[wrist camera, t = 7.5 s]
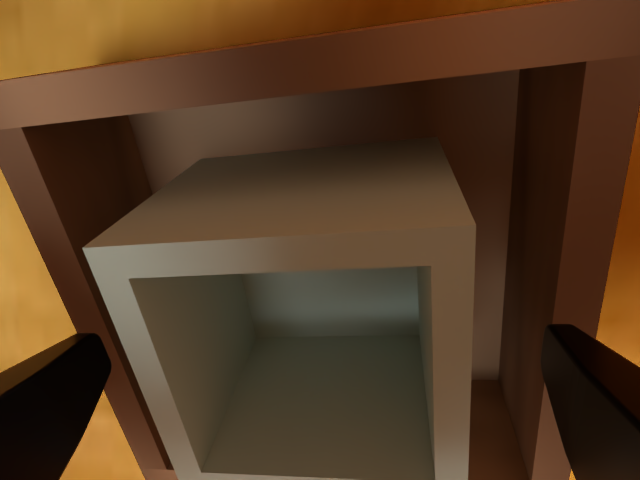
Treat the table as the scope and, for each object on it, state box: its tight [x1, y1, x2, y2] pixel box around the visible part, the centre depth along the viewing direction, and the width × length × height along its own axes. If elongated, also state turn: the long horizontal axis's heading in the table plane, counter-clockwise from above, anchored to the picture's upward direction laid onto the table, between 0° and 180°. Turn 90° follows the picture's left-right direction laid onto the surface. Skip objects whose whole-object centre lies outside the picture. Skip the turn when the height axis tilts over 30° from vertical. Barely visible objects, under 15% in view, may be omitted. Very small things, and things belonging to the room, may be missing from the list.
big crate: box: [0, 0, 640, 480], centre depth 11 cm, size 11×11×4 cm
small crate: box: [82, 137, 476, 480], centre depth 10 cm, size 6×6×5 cm
